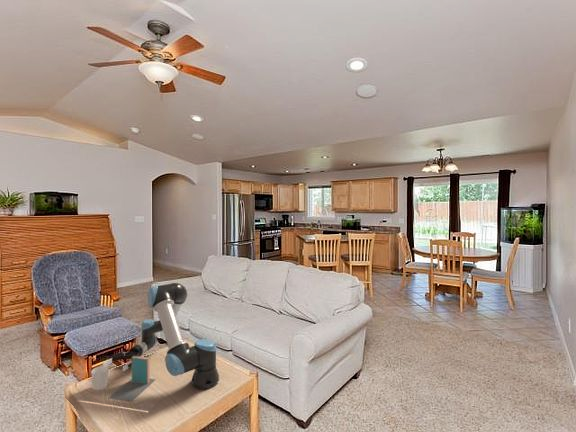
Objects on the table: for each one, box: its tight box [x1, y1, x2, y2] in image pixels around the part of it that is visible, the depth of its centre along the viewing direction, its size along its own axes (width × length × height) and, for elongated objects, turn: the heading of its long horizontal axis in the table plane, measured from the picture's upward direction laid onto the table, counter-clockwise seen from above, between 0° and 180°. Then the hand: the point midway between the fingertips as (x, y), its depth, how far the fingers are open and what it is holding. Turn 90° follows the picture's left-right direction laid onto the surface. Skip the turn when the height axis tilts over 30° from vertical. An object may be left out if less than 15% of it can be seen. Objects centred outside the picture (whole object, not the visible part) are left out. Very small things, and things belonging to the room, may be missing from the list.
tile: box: [131, 356, 150, 384], centre depth 170 cm, size 10×2×14 cm, turn 79°
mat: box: [107, 378, 157, 403], centre depth 165 cm, size 14×20×1 cm
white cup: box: [90, 365, 109, 391], centre depth 166 cm, size 8×8×10 cm
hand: (112, 367), depth 175 cm, fingers open, 13 cm apart
